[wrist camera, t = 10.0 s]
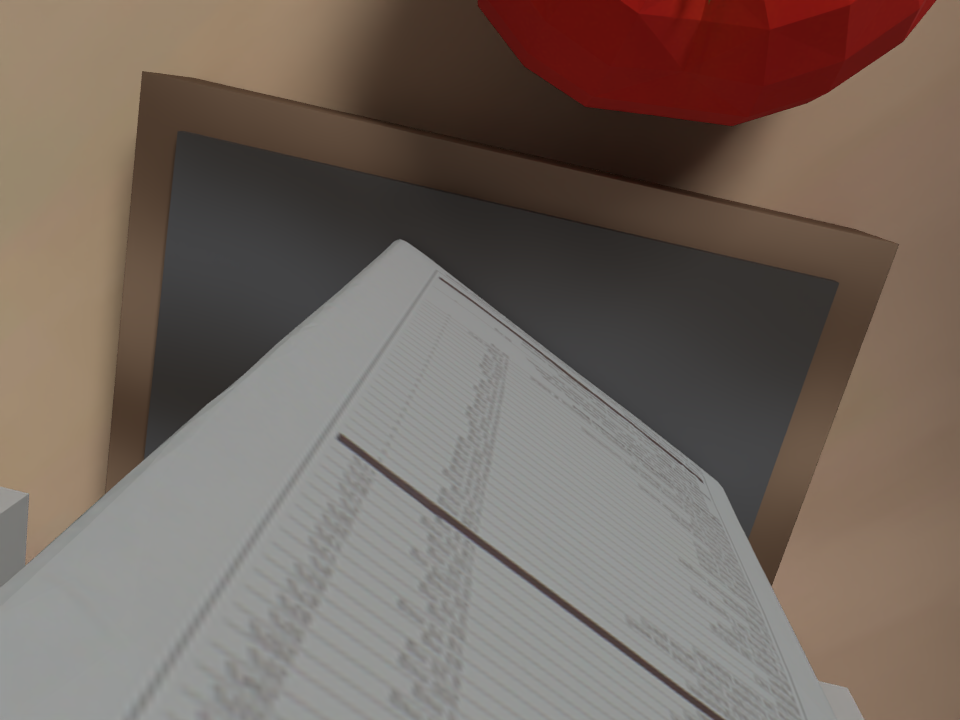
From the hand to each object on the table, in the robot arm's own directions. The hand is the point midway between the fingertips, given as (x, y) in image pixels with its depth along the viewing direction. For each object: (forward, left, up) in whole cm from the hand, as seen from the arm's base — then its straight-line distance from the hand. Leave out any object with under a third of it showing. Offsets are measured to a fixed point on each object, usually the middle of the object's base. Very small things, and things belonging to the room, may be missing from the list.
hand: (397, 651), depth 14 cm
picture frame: (0, 0, -8) cm, 8 cm away
